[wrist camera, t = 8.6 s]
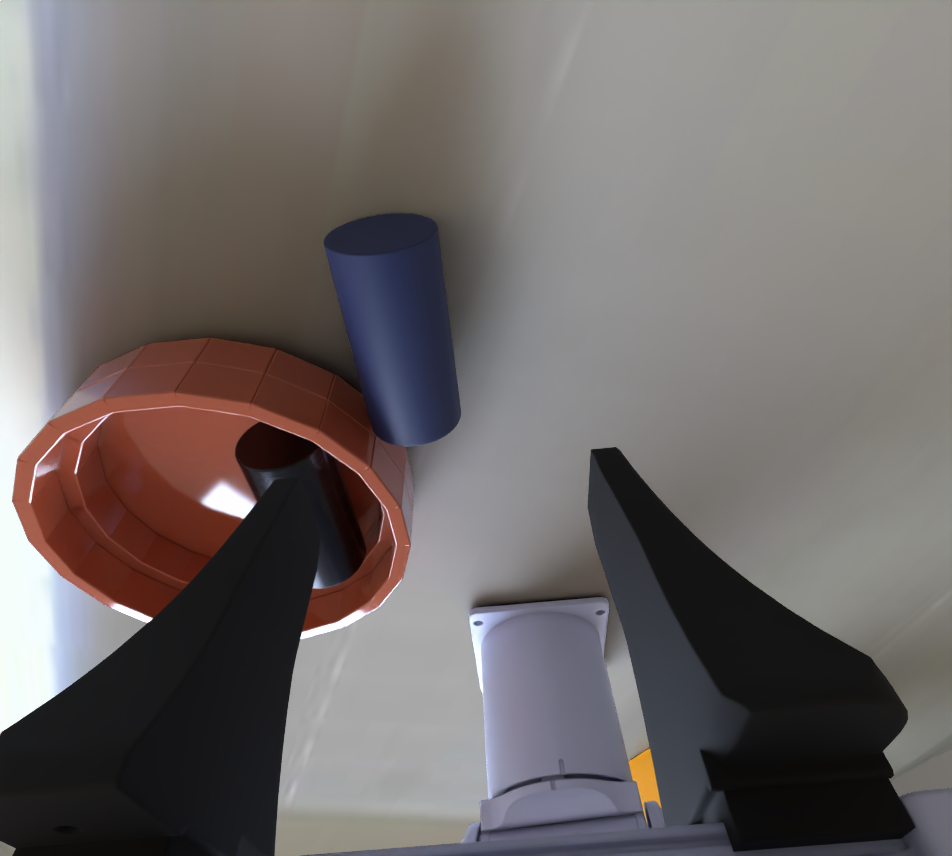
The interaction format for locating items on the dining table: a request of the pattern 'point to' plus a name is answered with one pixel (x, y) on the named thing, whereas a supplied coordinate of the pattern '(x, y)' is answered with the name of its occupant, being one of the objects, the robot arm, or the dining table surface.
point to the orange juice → (645, 777)
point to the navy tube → (397, 324)
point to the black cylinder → (307, 494)
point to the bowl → (199, 473)
